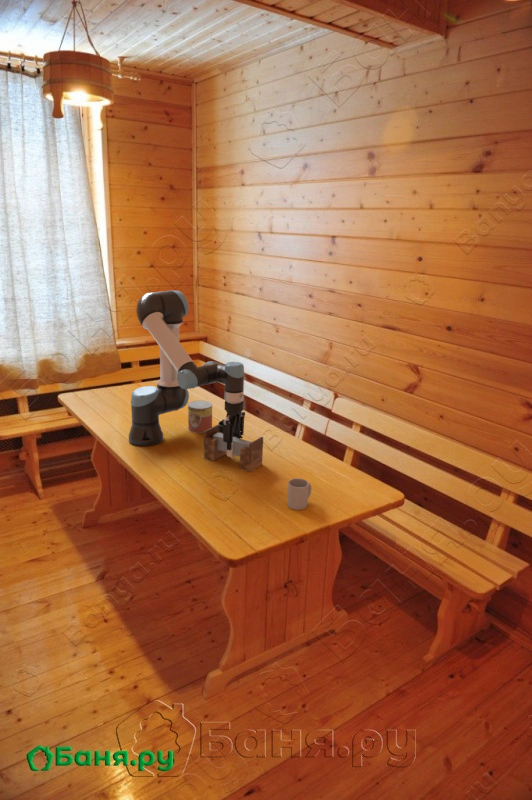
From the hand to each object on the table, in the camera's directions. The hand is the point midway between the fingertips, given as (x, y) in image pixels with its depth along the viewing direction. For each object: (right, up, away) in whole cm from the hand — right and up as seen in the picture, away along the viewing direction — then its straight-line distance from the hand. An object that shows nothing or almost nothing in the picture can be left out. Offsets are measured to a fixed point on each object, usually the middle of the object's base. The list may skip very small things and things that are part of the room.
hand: (233, 454), depth 235 cm
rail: (0, +1, 0) cm, 1 cm away
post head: (-8, -1, +5) cm, 10 cm away
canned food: (-18, +9, +34) cm, 39 cm away
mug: (-3, +2, +17) cm, 17 cm away
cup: (+26, -15, -31) cm, 43 cm away
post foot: (+7, -5, -3) cm, 9 cm away
